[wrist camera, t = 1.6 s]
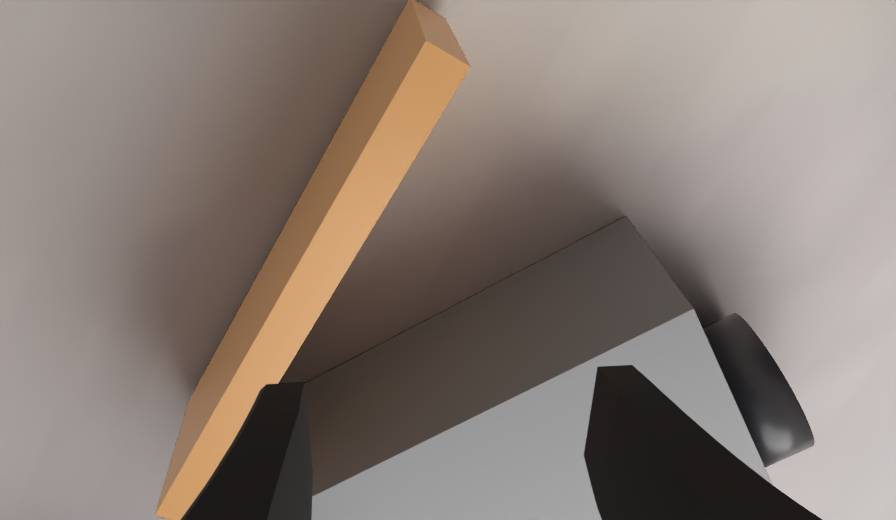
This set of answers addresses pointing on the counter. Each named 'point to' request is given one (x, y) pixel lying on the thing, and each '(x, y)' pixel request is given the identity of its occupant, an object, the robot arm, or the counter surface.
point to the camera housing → (534, 392)
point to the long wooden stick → (318, 241)
